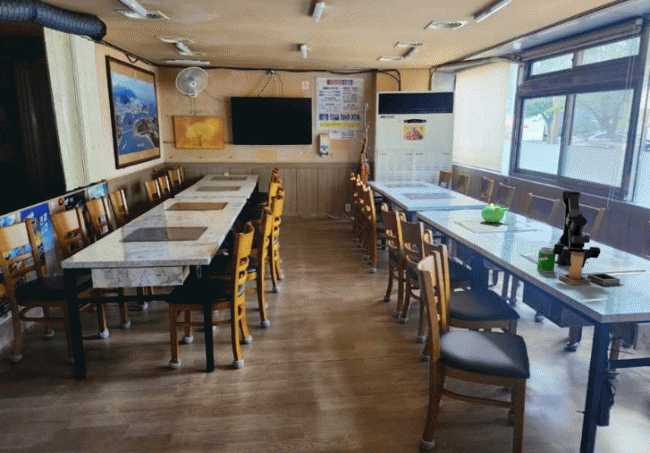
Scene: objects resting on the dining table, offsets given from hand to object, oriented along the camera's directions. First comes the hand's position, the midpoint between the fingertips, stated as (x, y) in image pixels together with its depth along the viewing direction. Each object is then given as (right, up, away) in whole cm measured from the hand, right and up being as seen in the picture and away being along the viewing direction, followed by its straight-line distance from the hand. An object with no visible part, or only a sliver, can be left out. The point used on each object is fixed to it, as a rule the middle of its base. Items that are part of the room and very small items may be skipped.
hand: (576, 266), depth 203 cm
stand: (0, -8, +3) cm, 9 cm away
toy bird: (+16, +21, +145) cm, 147 cm away
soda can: (-4, -5, +20) cm, 21 cm away
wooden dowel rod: (0, -5, +2) cm, 6 cm away
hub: (+14, -8, +3) cm, 16 cm away
